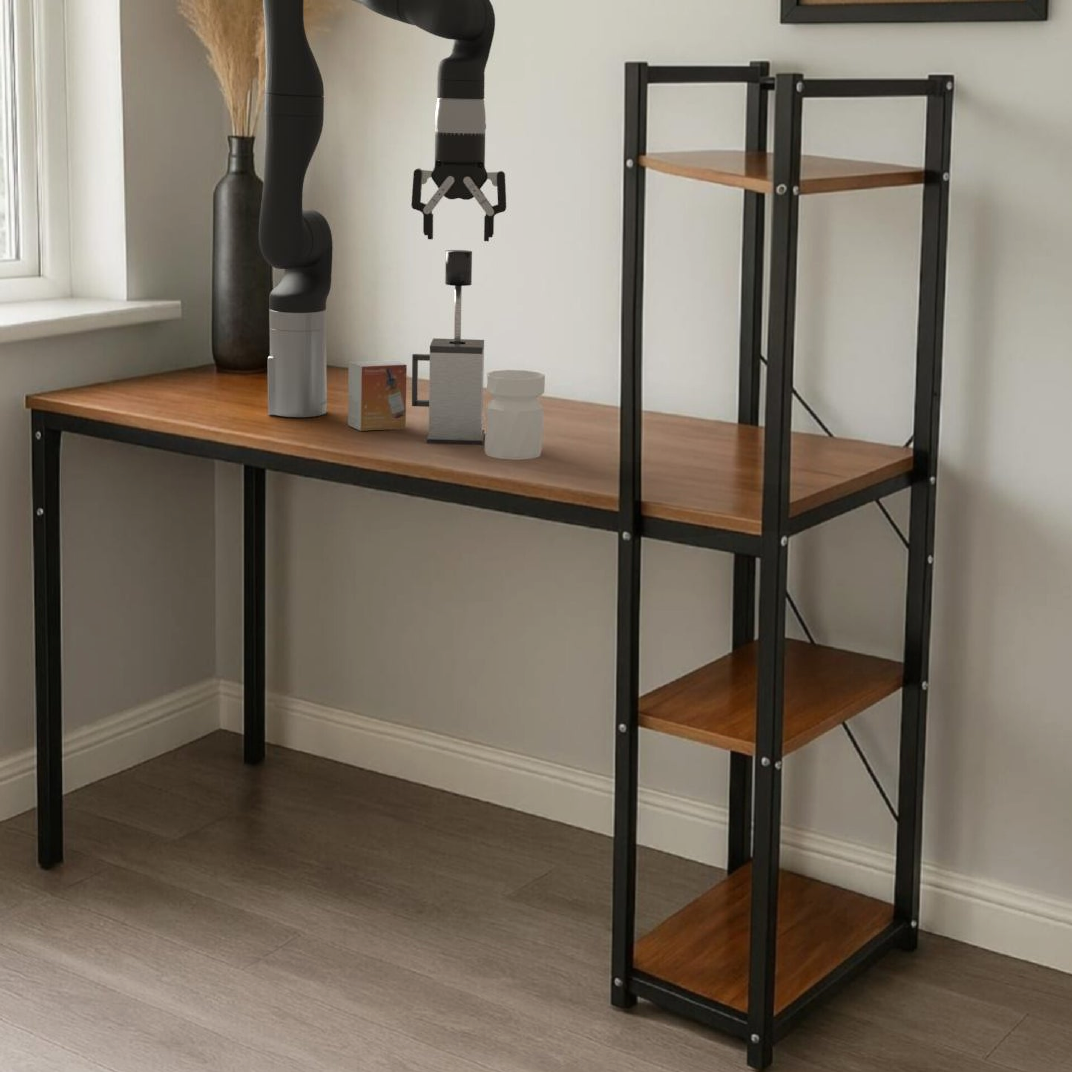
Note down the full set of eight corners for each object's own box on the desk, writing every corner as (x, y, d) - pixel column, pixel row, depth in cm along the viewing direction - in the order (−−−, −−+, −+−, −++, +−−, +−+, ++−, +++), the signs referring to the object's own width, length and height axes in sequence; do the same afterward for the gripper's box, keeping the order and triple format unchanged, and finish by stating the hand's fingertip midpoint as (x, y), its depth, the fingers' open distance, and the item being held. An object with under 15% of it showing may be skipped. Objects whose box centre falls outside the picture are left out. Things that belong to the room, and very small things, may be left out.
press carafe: (409, 442, 259) (410, 345, 255) (413, 431, 267) (414, 337, 263) (482, 444, 259) (484, 347, 255) (484, 433, 267) (486, 339, 263)
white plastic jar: (497, 461, 248) (499, 380, 245) (476, 449, 256) (477, 371, 252) (551, 457, 251) (554, 378, 248) (528, 446, 259) (530, 368, 256)
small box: (360, 432, 265) (360, 366, 263) (347, 425, 270) (347, 360, 268) (407, 429, 269) (407, 363, 266) (393, 422, 274) (393, 358, 271)
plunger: (439, 390, 258) (440, 252, 253) (440, 384, 263) (442, 249, 258) (472, 391, 258) (475, 253, 253) (474, 385, 263) (476, 250, 258)
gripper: (410, 129, 247) (409, 241, 251) (507, 132, 247) (504, 243, 252) (414, 128, 255) (413, 236, 259) (508, 131, 255) (505, 239, 259)
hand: (458, 240), depth 255 cm, fingers open, 8 cm apart
